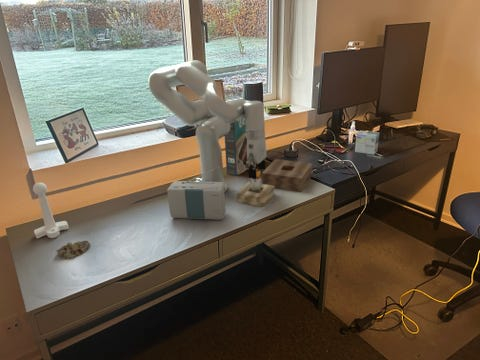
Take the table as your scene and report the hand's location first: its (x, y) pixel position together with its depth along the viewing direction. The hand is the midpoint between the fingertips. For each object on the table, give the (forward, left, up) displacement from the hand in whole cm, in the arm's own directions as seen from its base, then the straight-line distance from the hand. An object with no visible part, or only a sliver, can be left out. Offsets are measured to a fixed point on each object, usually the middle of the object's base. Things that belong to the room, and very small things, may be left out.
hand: (257, 173), depth 153 cm
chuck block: (+6, +21, -11) cm, 25 cm away
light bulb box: (+34, +73, -12) cm, 81 cm away
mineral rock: (-43, -58, -12) cm, 74 cm away
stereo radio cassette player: (-16, -22, -12) cm, 29 cm away
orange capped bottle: (-1, 0, -10) cm, 10 cm away
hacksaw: (+18, +46, -12) cm, 51 cm away
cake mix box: (-20, +30, -12) cm, 38 cm away
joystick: (-60, -53, -12) cm, 81 cm away
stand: (-1, 0, -11) cm, 11 cm away
